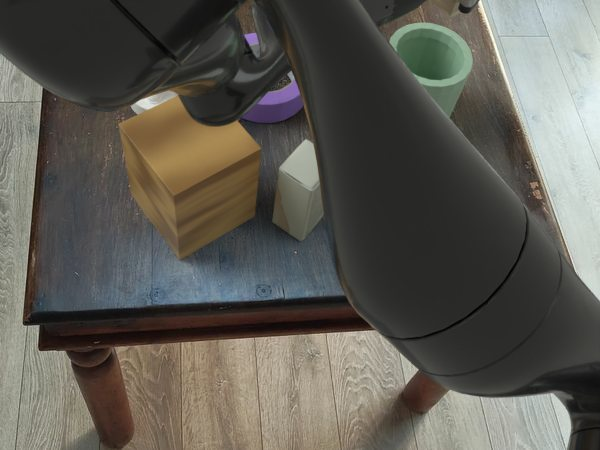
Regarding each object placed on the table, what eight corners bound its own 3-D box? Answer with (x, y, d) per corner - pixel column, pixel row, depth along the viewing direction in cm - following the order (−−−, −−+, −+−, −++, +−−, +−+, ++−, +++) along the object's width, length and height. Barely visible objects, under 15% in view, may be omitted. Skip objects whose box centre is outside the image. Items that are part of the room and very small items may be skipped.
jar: (464, 118, 91) (490, 63, 82) (407, 152, 87) (428, 99, 78) (412, 68, 94) (432, 11, 86) (356, 99, 90) (371, 42, 82)
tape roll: (327, 94, 90) (331, 73, 87) (258, 139, 85) (259, 119, 82) (267, 40, 94) (269, 18, 91) (197, 80, 89) (197, 59, 86)
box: (296, 193, 82) (307, 135, 73) (326, 213, 81) (341, 157, 72) (269, 223, 80) (277, 167, 70) (300, 244, 79) (312, 190, 69)
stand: (254, 216, 80) (261, 148, 69) (179, 260, 76) (173, 196, 65) (205, 156, 83) (204, 82, 72) (131, 195, 80) (118, 123, 68)
